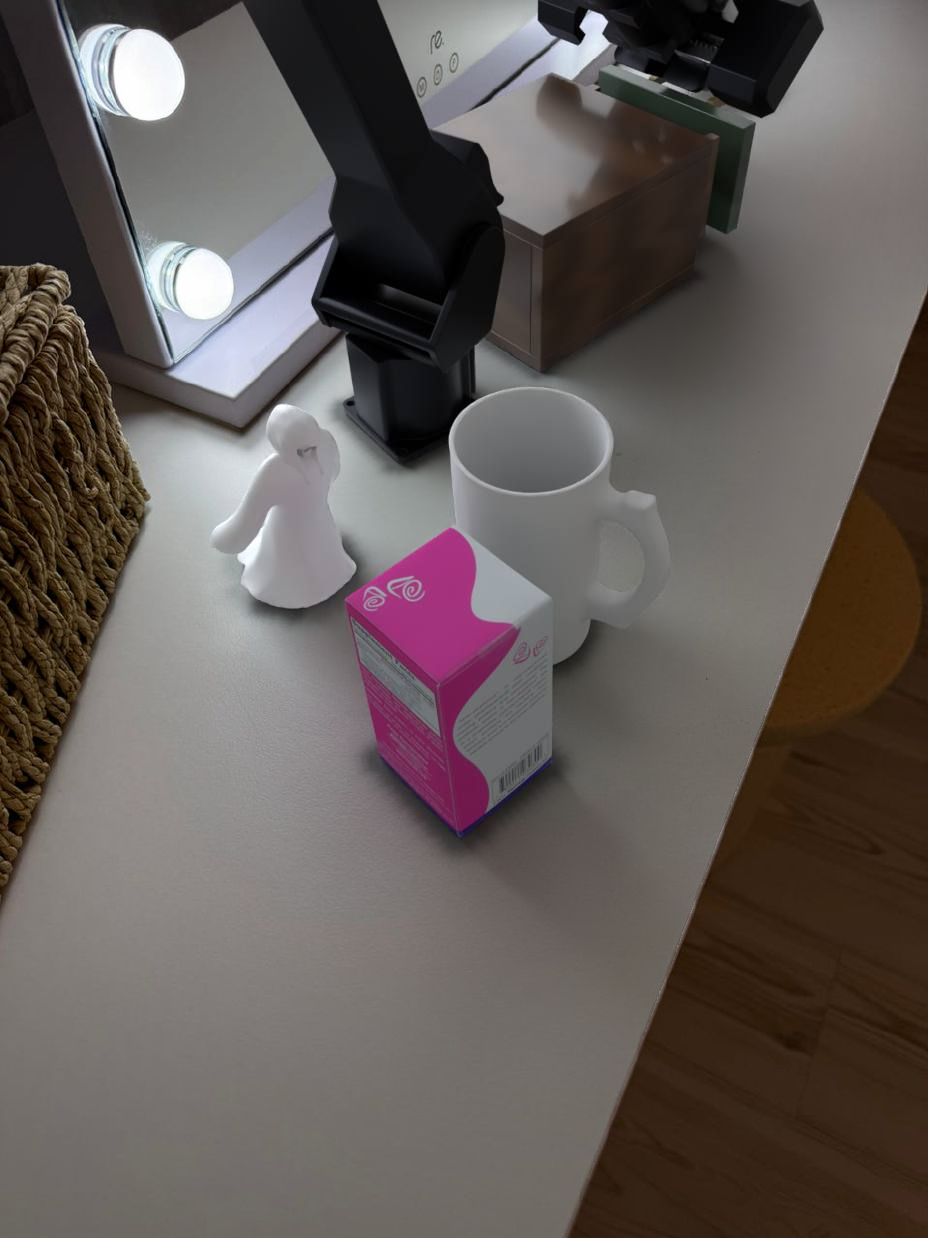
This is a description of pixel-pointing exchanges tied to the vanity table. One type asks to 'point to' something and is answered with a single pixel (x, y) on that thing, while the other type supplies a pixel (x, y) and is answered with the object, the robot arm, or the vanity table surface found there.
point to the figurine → (290, 517)
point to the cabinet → (584, 211)
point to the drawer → (703, 119)
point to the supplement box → (457, 675)
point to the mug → (552, 504)
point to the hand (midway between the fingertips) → (715, 83)
